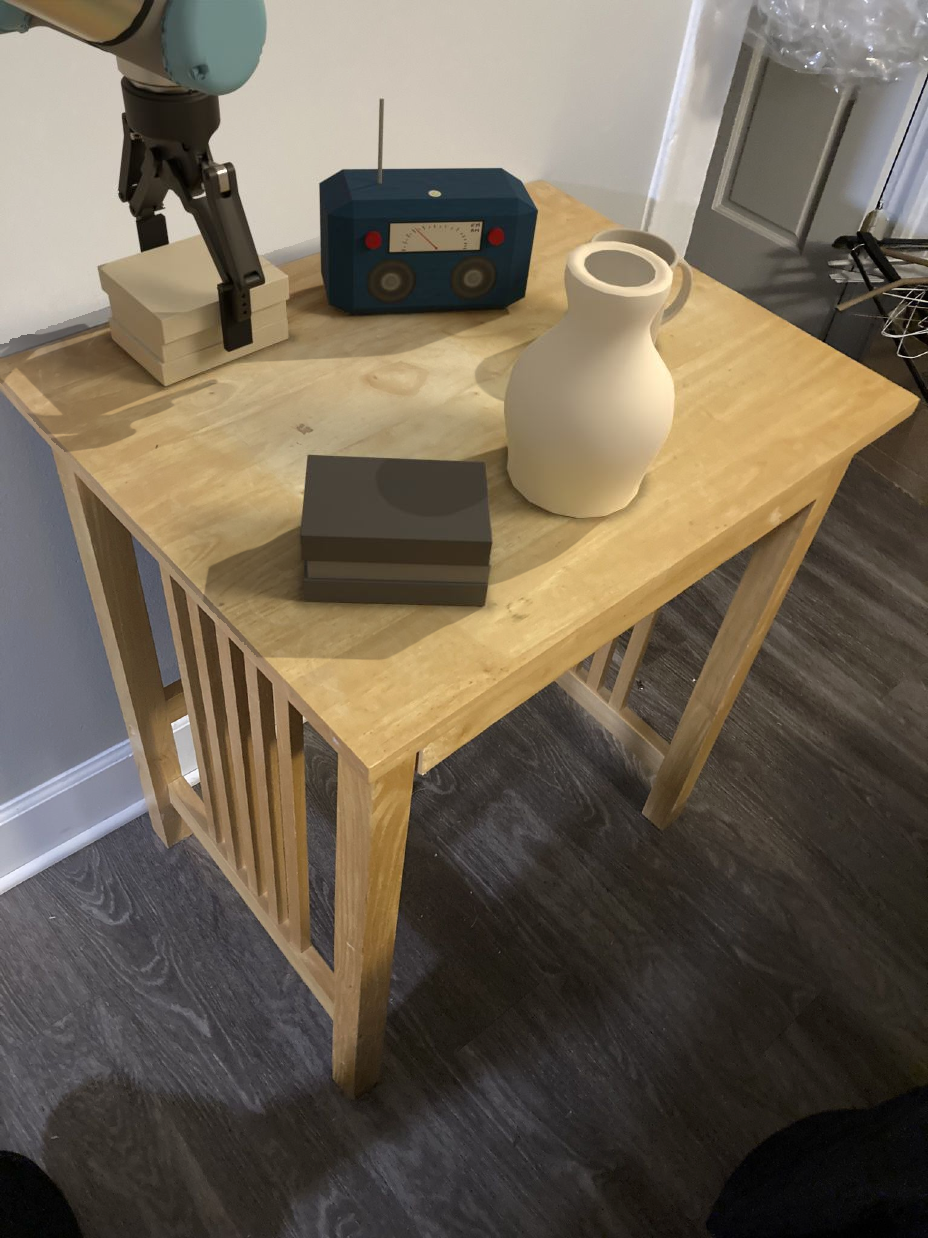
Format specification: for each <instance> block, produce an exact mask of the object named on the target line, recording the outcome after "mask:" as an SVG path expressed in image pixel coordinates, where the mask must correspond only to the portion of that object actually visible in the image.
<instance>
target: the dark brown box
mask: <svg viewBox="0 0 928 1238" xmlns="http://www.w3.org/2000/svg"><path fill="white" fill-rule="evenodd" d="M304 479H305V480H304V489H303V500H302V511H301V522H300V532H299V533H300V534H299V538H300V539H299V540H300V541H299V542H300V543H299V544H300V560H301V561H302V562H303V566H302V567H303V568H302V579H301V583H302V601H303V602H322V603H358V604H392V605H393V604H396V605H397V604H398V605H427V606H429V605H430V606H431V605H434V606H465V607H466V606H470V607H471V606H472V607H485V606H486V601H487V595H488V590H489V581H490V575H491V567H492V559H491V554H492V548H493V533H492V532H493V531H492V522H491V521H492V520H491V512H490V501H489V490H488V478H487V469H486V462H485V461H466V460H448V459H447V460H446V459H445V460H443V459H423V458H422V459H419V458H398V457H397V458H395V457H377V456H376V457H374V456H372V457H371V456H351V455H350V456H349V455H325V454H307V457H306V470H305V478H304Z"/></svg>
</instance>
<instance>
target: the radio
mask: <svg viewBox="0 0 928 1238" xmlns="http://www.w3.org/2000/svg"><path fill="white" fill-rule="evenodd" d="M378 108H379V109H378V144H377V145H378V148H377V151H378V152H377V168H342V169H341V170H339V171H337V172H335V173H334V174H332V175H330V176H329V177H327V178H325V179H323V180H322V181H320V182H319V183H318V187H319V188H318V190H319V191H318V193H319V194H318V195H319V237H320V238H319V239H320V240H319V243H320V244H319V245H320V246H319V247H320V274H321V278H322V282H323V286H324V290H325V294H326V298H327V302H328V305H329V306H331V307H333V308H335V309H337V310H339V311H340V312H343V313H346V315H349V316H352V317H355V316H377V315H379V316H380V315H381V316H382V315H401V314H402V315H403V314H405V315H407V314H427V313H429V314H430V313H451V312H452V313H453V312H477V311H479V312H480V311H501V310H504V309H507V308H508V307H510V306H512V305H513V304H516V303H517V302H519V301H521V300H523V299H525V298H526V293H527V287H528V280H529V273H530V266H531V260H532V254H533V247H534V242H535V241H534V240H535V234H536V229H537V222H538V214H539V210H538V208H537V205H536V204H535V203H534V200H533V199H532V197H531V194H530V193H529V192H528V190H527V187H526V186H525V184H524V183H523V181H522V180H521V179H519V178H518V177H516V176H515V175H513V174H512V173H510V172H509V171H507V170H505V169H504V168H502V167H467V168H466V167H446V168H445V167H441V168H440V167H439V168H438V167H437V168H435V167H433V168H383V152H384V151H383V146H384V115H385V113H384V112H385V98H379V105H378Z"/></svg>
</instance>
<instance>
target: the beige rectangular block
mask: <svg viewBox="0 0 928 1238" xmlns="http://www.w3.org/2000/svg"><path fill="white" fill-rule="evenodd" d="M107 296H108V301H109V306H110V307H109V308H110V312H111V316H110V317H108V318H107V320H108V326H109V329H110V330H109V331H110V335H111V339H112V340H113V341H114V343H116V344H117V345H118V346H119V347H120V348H122V349H123V350H124V351H125V352H126V353H127V354H128V355H129V356H130V357H132V358H133V359H134V360H135V361H136V362H137V363H138V364H139V365H140V366H142V367H143V369H145V370H146V371H147V372H148V373H149V374H150V375H151V376H152V377H154V379H156V380H157V381H158V382H159V383H160V384H161V385H163V386H164V387H167V386H169V385H173V384H175V383H178V382H180V381H182V380H186V379H188V378H190V377H193V376H195V375H199V374H201V373H203V372H206V371H208V370H211V369H213V368H216V367H219V366H221V365H224V364H226V363H229V362H232V361H234V360H237V359H239V358H242V357H245V356H247V355H249V354H251V353H255V352H258V351H260V350H263V349H265V348H267V347H270V346H273V345H275V344H278V343H280V342H283V341H285V340H288V339H289V321H288V317H287V300H285V301H282V302H279V303H277V304H274V305H271V306H269V307H266V308H263V309H260V310H258V311H255V312H252V314H251V323H252V336H253V343H252V344H249V345H247V346H244V347H241V348H239V349H236V350H234V351H231V352H227V351H226V350H225V349H224V345H223V335H222V326H221V324H219V325H216V326H214V327H211V328H208V329H205V330H203V331H200V332H197V333H194V334H192V335H189V336H186V337H184V338H181V339H178V340H175V341H173V342H170V343H167V344H164V343H163V342H162V341H161V340H160V339H158V338H157V337H156V336H155V335H154V334H153V333H152V332H150V331H149V330H148V329H147V328H146V327H145V326H143V325H142V324H141V323H140V322H139V321H138V320H137V319H135V318H134V317H133V316H132V315H131V314H130V313H128V312H127V311H126V310H125V309H124V308H123V307H122V306H120V305H119V304H118V303H117V302H116V301H115V300H113V299H112V298H111V297H110V296H109V295H108V294H107Z"/></svg>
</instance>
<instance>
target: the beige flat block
mask: <svg viewBox="0 0 928 1238" xmlns="http://www.w3.org/2000/svg"><path fill="white" fill-rule="evenodd" d="M257 254H258V257H259V260H260V264H261V267H262V270H263V273H264V277H265V284H263V285H261V286H258V287H255V288H252V289H250V299H251V312H255V311H258V310H260V309H263V308H266V307H269V306H271V305H274V304H277V303H279V302H282V301H285V300H286V301H288V300H290V283H289V282H290V281H289V275H288V274H286V273H285V272H283V270H281V269H279V268H278V267H277V266H275V265H274V264H273V263H271V262H270V261H269V260H267V259H266V258H265V257H263V256H262V255H260V254H259V253H258V252H257ZM96 267H97V272H98V277H99V282H100V287H101V290H102V291H103V292H104V294H107V296H108V295H109V296H110V297H111V298H112V299H113V300H115V301H116V302H117V303H118V304H119V305H120V306H122V307H123V308H124V309H125V310H126V311H127V312H128V313H130V314H131V315H132V316H133V317H134V318H135V319H137V320H138V321H139V322H140V323H141V324H142V325H143V326H145V327H146V328H147V329H148V330H149V331H150V332H152V333H153V334H154V335H155V336H156V337H157V338H158V339H160V340H161V341H162V342H163V343H164V344H167V343H170V342H173V341H175V340H178V339H181V338H184V337H186V336H189V335H192V334H194V333H197V332H200V331H203V330H205V329H208V328H211V327H214V326H216V325H219V324H221V316H220V307H219V298H218V290H217V284H220V283H222V280H221V278H220V275H219V273H218V271H217V269H216V266H215V264H214V262H213V260H212V257H211V255H210V253H209V251H208V248H207V246H206V244H205V241H204V239H203V237H202V235H201V233H200V234H197V235H194V236H190V237H187V238H184V239H181V240H177V241H174V242H171V243H169V244H167V245H164V246H161V247H158V248H154V249H151V250H148V251H145V252H141V251H140V252H138V253H135V254H132V255H129V256H125V257H122V258H119V259H115V260H113V261H109V262H106V263H103V264H99V265H97V266H96Z"/></svg>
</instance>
